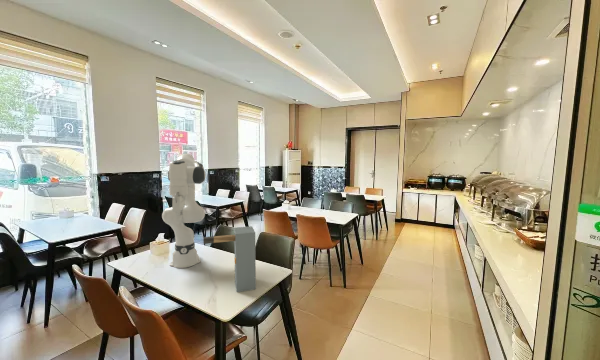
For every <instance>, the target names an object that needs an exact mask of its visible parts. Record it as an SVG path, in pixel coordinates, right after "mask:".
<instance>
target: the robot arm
mask: <svg viewBox="0 0 600 360" xmlns="http://www.w3.org/2000/svg"><path fill="white" fill-rule="evenodd" d="M167 179H168V181H169V185H168V186H169V187H168V188H169V196H172V197H171V198H172V206H171V207H167V208H165V209H164V210H163V211H162V213H161V218H162V220H163V222H164V223H165V224H167V225H168V226H169V227H171V229H172V230H173V232H174V238H175V239H174V240H175V244H174V251H173V253H172V261H171V262H170V263H169V266H170V267H174V268H176V269H185V268H191V267H192V266H195V265H197V264H200V263H201V258H200V256H199V254H198V250H197V248H195V247H196V246H195V245H196V243H195V240H194V239H195V235H194V234H195V233H194V232H195V231H193V229H192V228H190V227H187V226H186V225H185V224H186V223H187V224H188V223H189V224H190V223H197V222H202V221H203V220H204V218H205V216H206V212H205V209H204V208H203V207H202V206H200V205H199V204H198V203H197V202H196V197H195V196H196V194H195V193H196V192H195V191H196V185H201V184H203V183H204V182H205V180H206V171H205V168H204V166H203V164H202V163H200V162H199V161H197V160H195V157H194V156H193V155H192V154H190V153H187V152H186V153H183V154H179V156H178V157H177V159H176V160H172V161H170V162H169V167H168V171H167Z"/></svg>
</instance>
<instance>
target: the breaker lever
mask: <svg viewBox="0 0 600 360" xmlns="http://www.w3.org/2000/svg"><path fill="white" fill-rule="evenodd" d="M202 240H203V245H207V244H215V243H224V242H225V243H228V242H234V241H235V235H234V234H227V235H217V236H204V237H203V239H202Z"/></svg>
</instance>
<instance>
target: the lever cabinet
mask: <svg viewBox="0 0 600 360" xmlns="http://www.w3.org/2000/svg"><path fill="white" fill-rule="evenodd" d="M233 233H234V234H233V235H235V241H233V242H234V244H233V245H234V283H235V290H236V293H240V292H246V291H252V290H256V289H257V287H256V285H257V283H256V277H257V276H256V274H257V271H256V265H257V264H256V263H257V262H256V231H255V229H254V227H253V226H240V227H234V229H233Z"/></svg>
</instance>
